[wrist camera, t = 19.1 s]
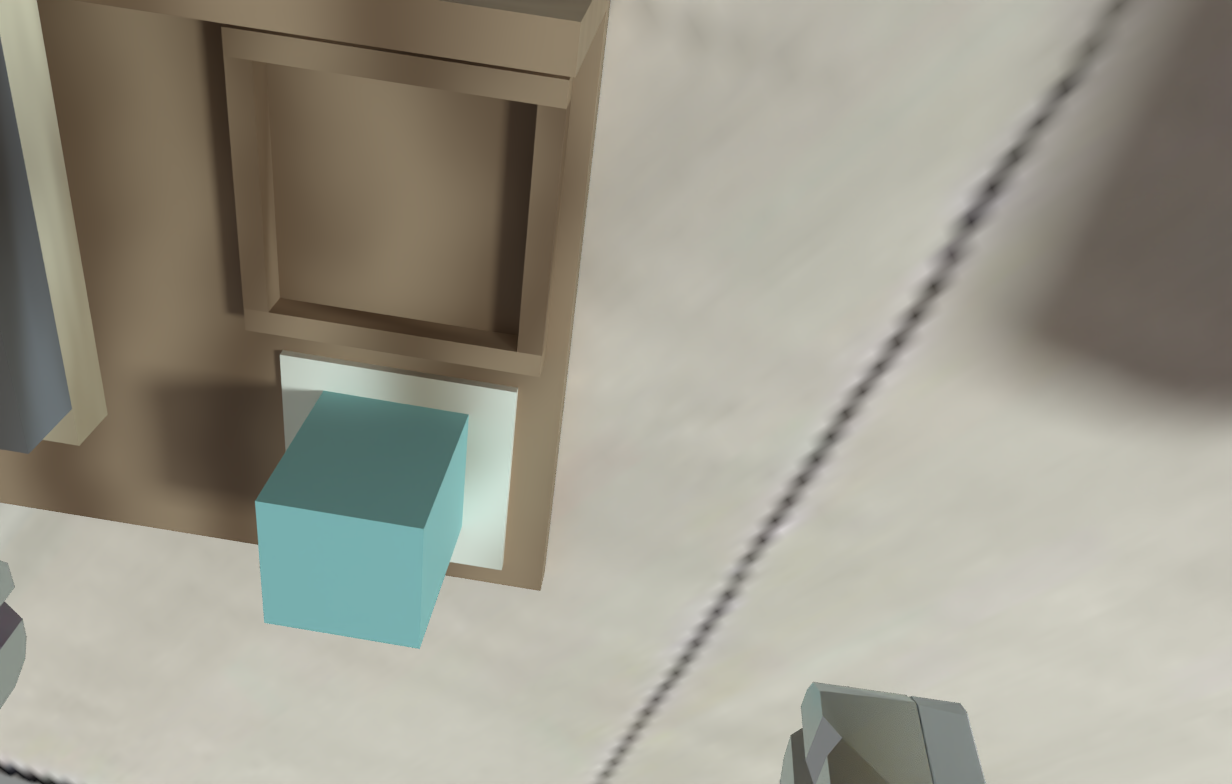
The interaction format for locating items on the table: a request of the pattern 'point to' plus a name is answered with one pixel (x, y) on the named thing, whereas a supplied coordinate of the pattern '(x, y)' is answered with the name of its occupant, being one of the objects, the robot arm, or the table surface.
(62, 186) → the sliding lid
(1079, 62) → the table surface
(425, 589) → the teal block
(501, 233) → the puzzle board
